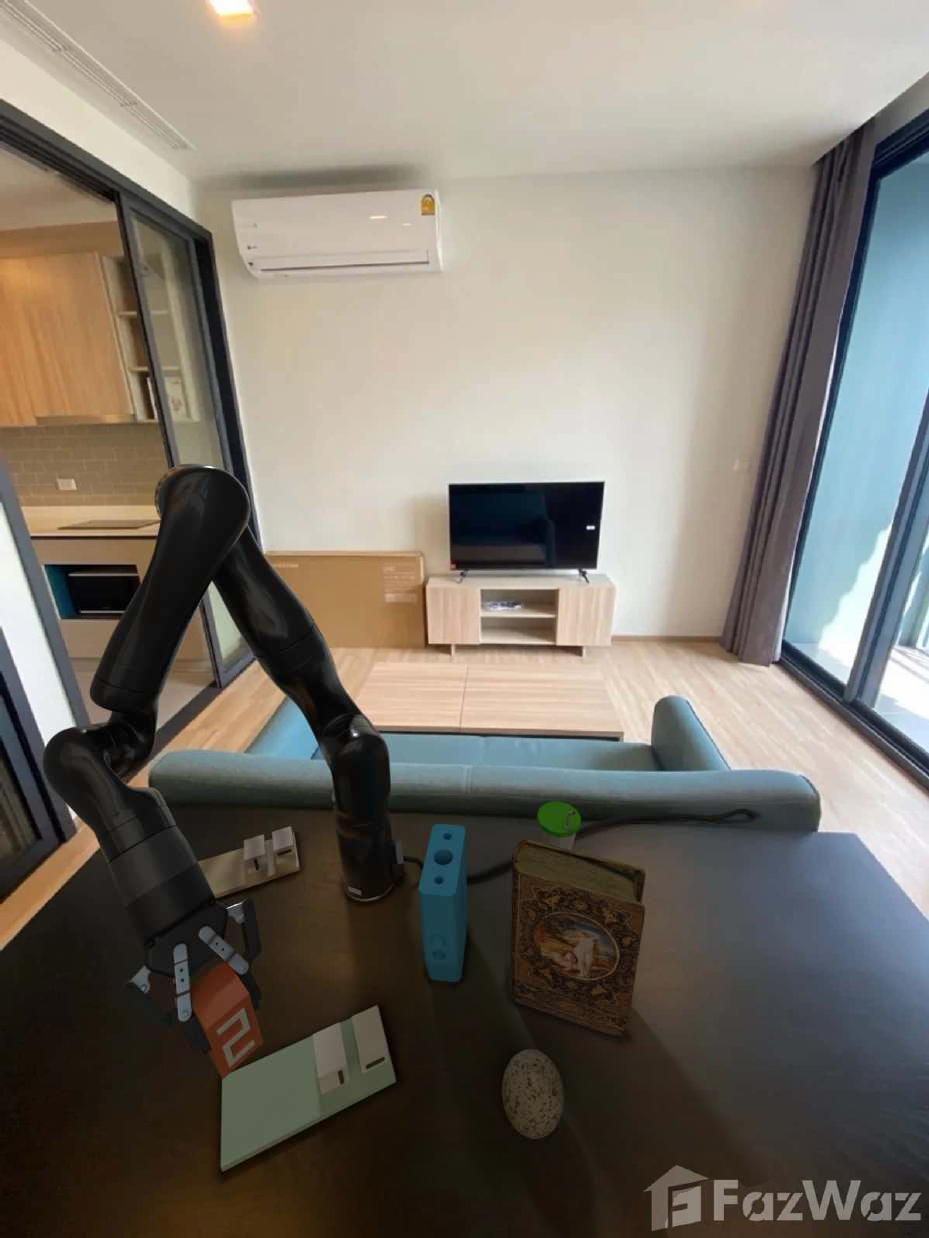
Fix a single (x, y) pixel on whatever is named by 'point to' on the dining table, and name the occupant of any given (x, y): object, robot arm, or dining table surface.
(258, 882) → the beige switch panel
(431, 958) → the block
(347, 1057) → the switch panel board
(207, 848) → the dining table surface
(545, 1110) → the decorative egg
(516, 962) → the book
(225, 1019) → the orange red rectangular block
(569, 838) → the cup
